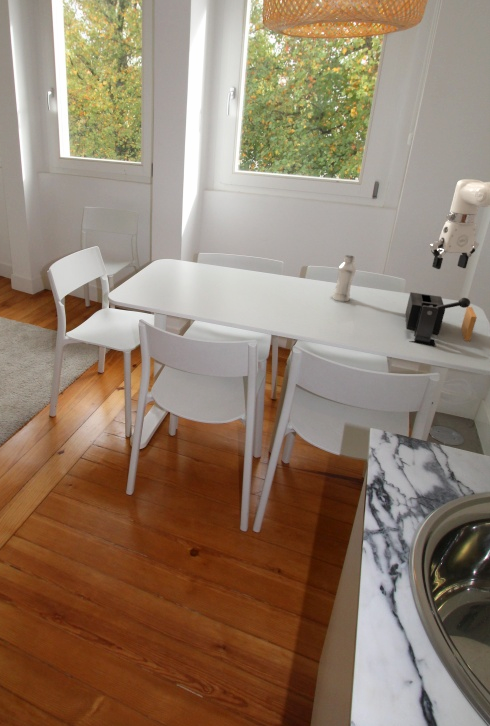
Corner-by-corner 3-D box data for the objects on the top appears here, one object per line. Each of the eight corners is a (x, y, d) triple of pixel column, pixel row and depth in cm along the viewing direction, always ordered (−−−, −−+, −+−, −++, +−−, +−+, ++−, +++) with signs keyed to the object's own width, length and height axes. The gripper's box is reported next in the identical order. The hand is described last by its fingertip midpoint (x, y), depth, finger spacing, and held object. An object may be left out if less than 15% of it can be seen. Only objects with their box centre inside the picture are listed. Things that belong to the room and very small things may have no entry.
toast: (464, 333, 167) (472, 307, 163) (468, 344, 158) (476, 317, 155) (459, 332, 167) (467, 306, 164) (463, 343, 159) (471, 316, 155)
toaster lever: (470, 304, 150) (468, 295, 150) (472, 307, 148) (469, 298, 147) (425, 313, 157) (422, 304, 156) (425, 316, 154) (423, 308, 154)
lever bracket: (433, 340, 161) (442, 303, 156) (435, 349, 154) (445, 311, 149) (407, 335, 164) (415, 299, 159) (407, 344, 157) (417, 306, 152)
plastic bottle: (351, 304, 191) (362, 258, 183) (338, 307, 189) (349, 260, 180) (340, 298, 197) (350, 253, 188) (327, 300, 194) (337, 254, 186)
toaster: (434, 324, 174) (441, 296, 170) (437, 338, 162) (445, 309, 158) (403, 319, 178) (410, 292, 174) (405, 333, 166) (412, 304, 162)
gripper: (446, 220, 150) (433, 271, 156) (494, 219, 153) (479, 270, 159) (430, 216, 157) (418, 265, 163) (475, 215, 159) (462, 263, 166)
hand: (448, 267), depth 161 cm, fingers open, 9 cm apart
